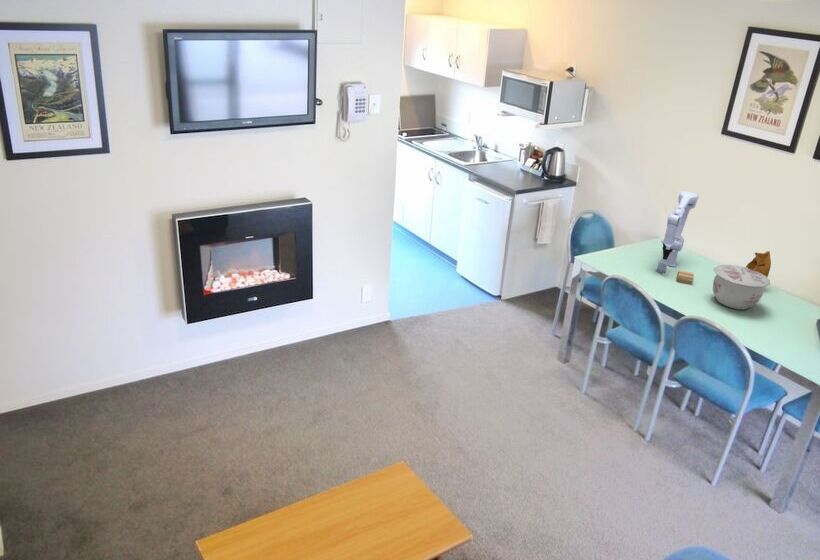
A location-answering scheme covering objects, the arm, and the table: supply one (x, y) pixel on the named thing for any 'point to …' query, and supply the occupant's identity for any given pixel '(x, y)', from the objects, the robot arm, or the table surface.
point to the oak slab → (685, 275)
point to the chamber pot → (738, 286)
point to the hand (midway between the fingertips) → (664, 257)
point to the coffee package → (761, 263)
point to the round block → (661, 268)
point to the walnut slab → (684, 281)
